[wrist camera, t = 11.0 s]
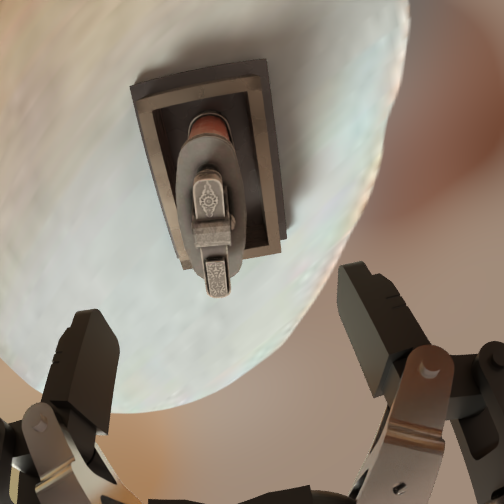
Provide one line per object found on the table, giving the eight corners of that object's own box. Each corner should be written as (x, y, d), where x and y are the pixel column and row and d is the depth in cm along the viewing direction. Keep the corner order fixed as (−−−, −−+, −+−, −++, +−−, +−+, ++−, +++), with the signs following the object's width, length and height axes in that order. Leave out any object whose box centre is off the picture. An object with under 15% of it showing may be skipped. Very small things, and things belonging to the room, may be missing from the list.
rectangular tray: (178, 251, 26) (174, 282, 23) (133, 85, 18) (116, 90, 15) (284, 232, 26) (295, 260, 23) (263, 58, 18) (274, 58, 15)
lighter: (182, 113, 19) (157, 157, 11) (233, 109, 19) (250, 148, 11) (194, 219, 24) (186, 316, 15) (238, 215, 24) (254, 310, 16)
